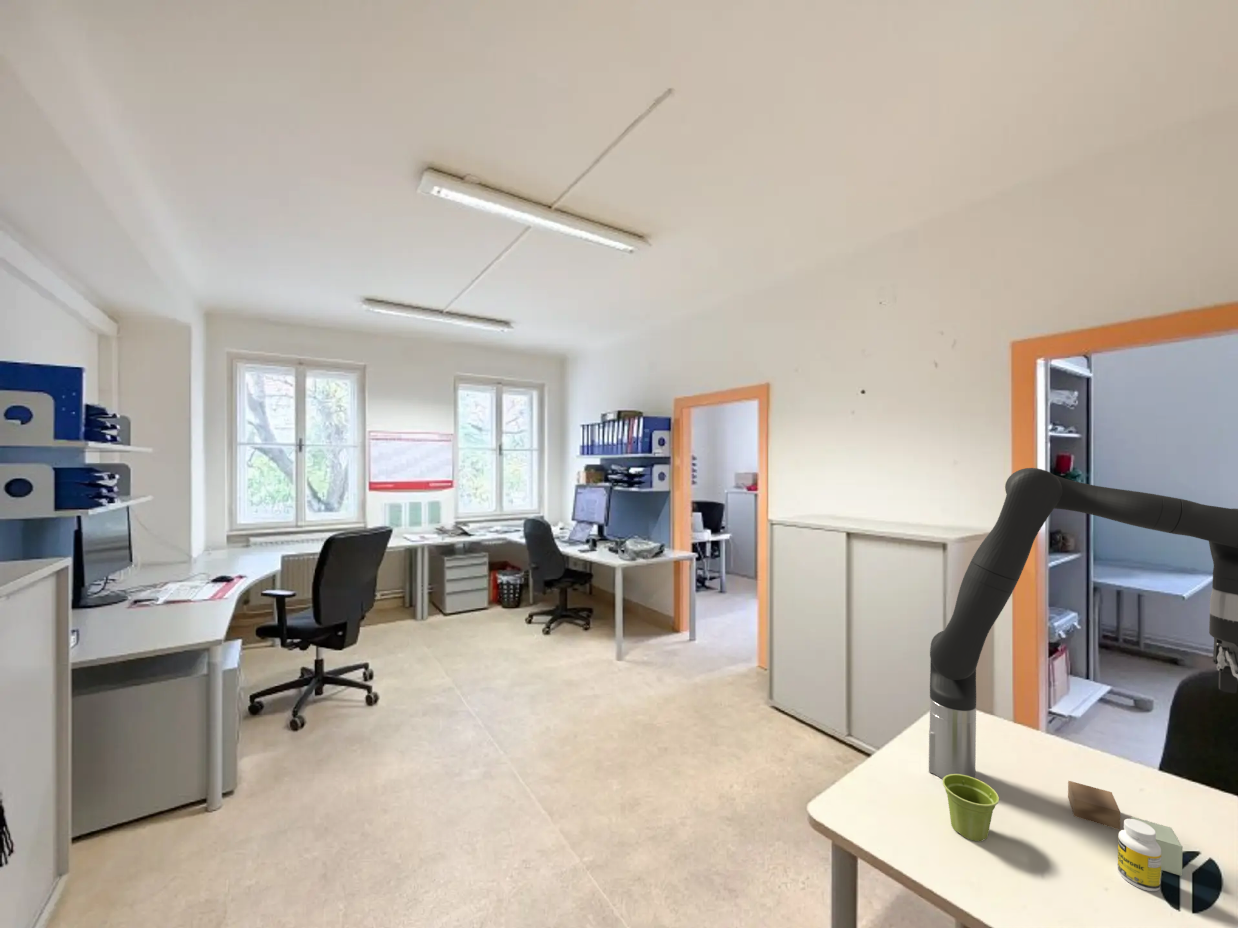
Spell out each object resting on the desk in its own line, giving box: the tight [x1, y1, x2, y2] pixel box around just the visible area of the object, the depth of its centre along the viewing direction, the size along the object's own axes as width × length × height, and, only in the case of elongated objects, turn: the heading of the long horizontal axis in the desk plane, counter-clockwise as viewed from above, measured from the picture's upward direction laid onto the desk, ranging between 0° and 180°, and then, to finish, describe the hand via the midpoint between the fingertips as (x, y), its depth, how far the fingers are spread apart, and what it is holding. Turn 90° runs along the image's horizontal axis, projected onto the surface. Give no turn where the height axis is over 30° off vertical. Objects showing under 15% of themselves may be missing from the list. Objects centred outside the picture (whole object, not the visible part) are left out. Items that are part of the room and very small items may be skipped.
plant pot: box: [942, 774, 1000, 842], centre depth 103 cm, size 9×9×9 cm
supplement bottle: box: [1117, 818, 1162, 892], centre depth 91 cm, size 5×5×10 cm
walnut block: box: [1067, 780, 1121, 831], centre depth 108 cm, size 7×7×4 cm
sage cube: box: [1130, 816, 1183, 877], centre depth 96 cm, size 6×6×6 cm
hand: (1237, 700), depth 96 cm, fingers open, 8 cm apart
